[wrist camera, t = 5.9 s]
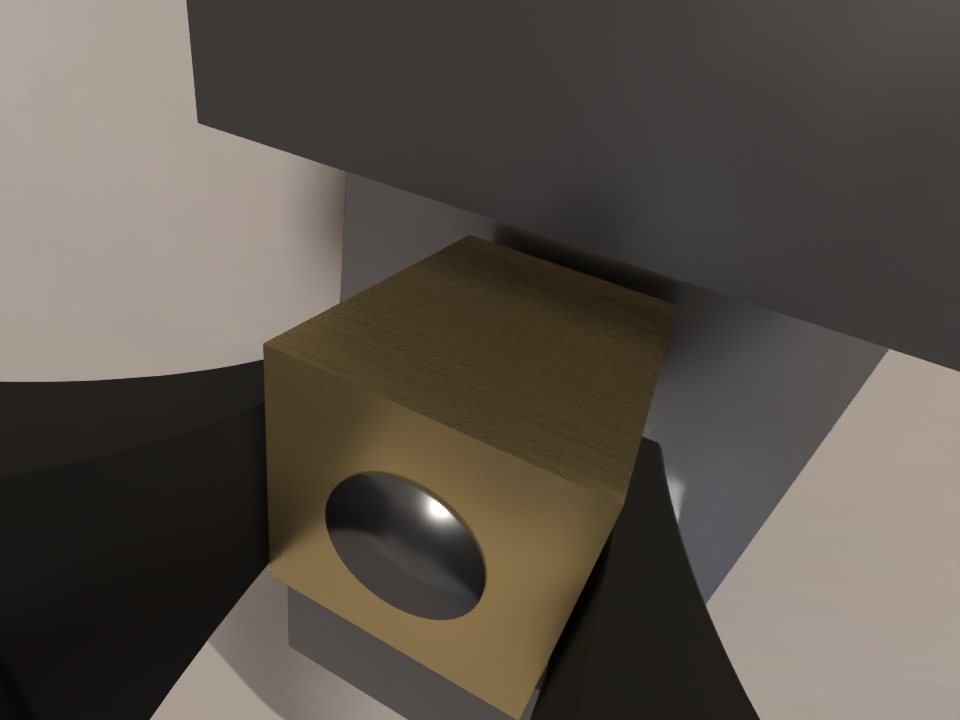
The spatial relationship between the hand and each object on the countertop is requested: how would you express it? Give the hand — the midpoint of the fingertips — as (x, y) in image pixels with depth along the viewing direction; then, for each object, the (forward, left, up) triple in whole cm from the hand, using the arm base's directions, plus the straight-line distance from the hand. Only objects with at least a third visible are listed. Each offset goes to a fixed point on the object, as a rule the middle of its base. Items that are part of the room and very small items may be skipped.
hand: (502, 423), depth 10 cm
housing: (0, 0, -2) cm, 2 cm away
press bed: (-1, 0, -4) cm, 4 cm away
